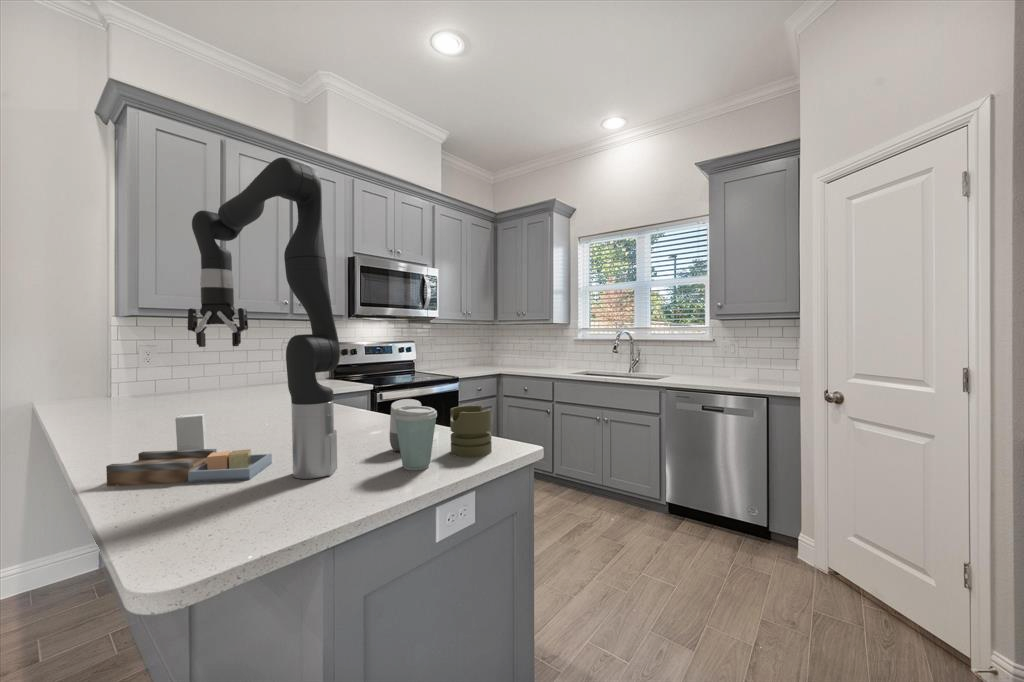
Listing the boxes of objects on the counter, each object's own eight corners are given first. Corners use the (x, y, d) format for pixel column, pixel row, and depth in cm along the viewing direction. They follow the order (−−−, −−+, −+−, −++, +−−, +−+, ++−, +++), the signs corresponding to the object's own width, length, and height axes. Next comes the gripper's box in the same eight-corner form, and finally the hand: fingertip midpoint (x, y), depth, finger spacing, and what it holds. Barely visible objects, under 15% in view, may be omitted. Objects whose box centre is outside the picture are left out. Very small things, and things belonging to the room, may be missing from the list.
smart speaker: (388, 455, 124) (387, 404, 123) (390, 447, 133) (390, 399, 132) (424, 453, 126) (423, 402, 125) (423, 444, 135) (423, 397, 134)
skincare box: (207, 456, 124) (206, 412, 124) (204, 460, 120) (203, 415, 120) (179, 459, 122) (178, 414, 121) (176, 464, 118) (175, 417, 117)
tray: (271, 463, 117) (271, 453, 117) (249, 479, 104) (249, 468, 104) (217, 465, 116) (217, 456, 116) (188, 482, 103) (188, 471, 103)
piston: (461, 414, 118) (443, 408, 128) (462, 460, 119) (444, 450, 128) (498, 409, 125) (479, 404, 134) (499, 453, 125) (479, 444, 134)
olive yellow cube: (232, 466, 113) (251, 464, 114) (229, 471, 109) (248, 469, 110) (232, 450, 112) (250, 449, 114) (228, 454, 109) (248, 453, 110)
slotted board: (216, 466, 115) (216, 448, 115) (189, 482, 103) (189, 462, 103) (143, 469, 113) (142, 451, 113) (107, 486, 101) (106, 466, 101)
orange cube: (231, 467, 112) (230, 450, 112) (227, 471, 109) (226, 455, 109) (212, 468, 111) (211, 452, 111) (207, 473, 107) (207, 456, 107)
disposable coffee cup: (433, 459, 120) (433, 402, 119) (442, 470, 110) (441, 408, 109) (392, 463, 116) (391, 405, 116) (397, 476, 106) (396, 412, 106)
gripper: (251, 288, 128) (252, 345, 129) (196, 288, 126) (198, 346, 127) (238, 285, 121) (240, 346, 121) (180, 285, 119) (182, 347, 119)
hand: (218, 346), depth 124 cm, fingers open, 8 cm apart
